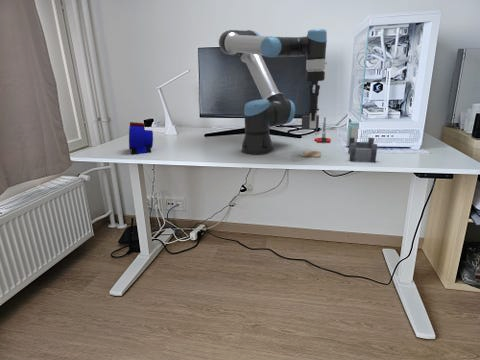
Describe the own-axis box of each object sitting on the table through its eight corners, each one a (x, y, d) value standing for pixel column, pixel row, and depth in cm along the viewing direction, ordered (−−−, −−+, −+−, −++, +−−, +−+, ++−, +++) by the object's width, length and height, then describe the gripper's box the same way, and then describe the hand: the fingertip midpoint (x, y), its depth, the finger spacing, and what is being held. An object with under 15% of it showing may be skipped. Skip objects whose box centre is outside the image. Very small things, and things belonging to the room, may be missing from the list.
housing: (349, 160, 131) (351, 144, 128) (348, 152, 143) (349, 137, 141) (375, 162, 128) (377, 145, 126) (371, 152, 141) (373, 137, 138)
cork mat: (301, 156, 139) (301, 155, 139) (303, 152, 146) (303, 150, 146) (320, 157, 137) (320, 156, 137) (321, 152, 144) (321, 151, 144)
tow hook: (313, 139, 171) (315, 143, 162) (315, 115, 167) (316, 117, 158) (329, 139, 169) (332, 143, 161) (331, 115, 166) (333, 117, 157)
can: (353, 144, 156) (355, 120, 152) (365, 147, 150) (367, 122, 146) (343, 146, 153) (345, 122, 149) (354, 149, 147) (356, 124, 143)
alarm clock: (129, 149, 163) (124, 120, 158) (153, 146, 167) (149, 118, 162) (130, 155, 152) (125, 124, 147) (156, 152, 156) (152, 122, 151)
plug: (301, 128, 136) (301, 117, 134) (302, 126, 141) (302, 115, 139) (318, 128, 134) (318, 117, 133) (318, 126, 139) (319, 115, 137)
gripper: (324, 71, 120) (321, 131, 128) (325, 69, 136) (322, 123, 144) (304, 71, 122) (302, 131, 130) (307, 70, 138) (306, 123, 146)
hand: (313, 126), depth 137 cm, fingers closed on plug, 5 cm apart
